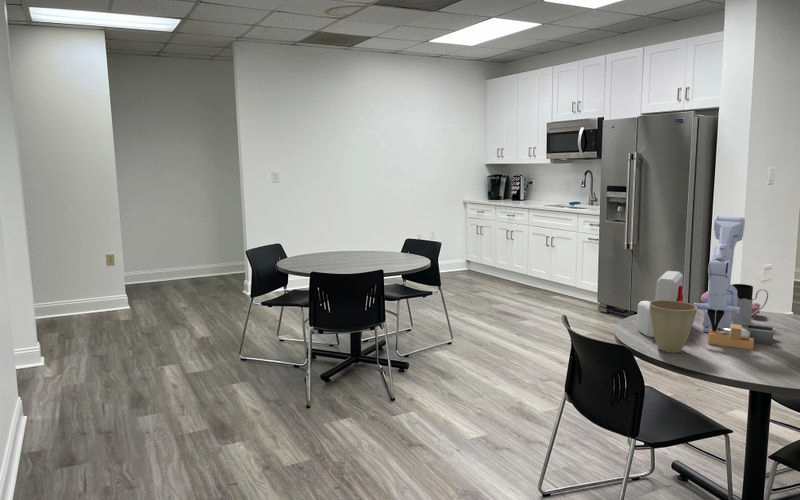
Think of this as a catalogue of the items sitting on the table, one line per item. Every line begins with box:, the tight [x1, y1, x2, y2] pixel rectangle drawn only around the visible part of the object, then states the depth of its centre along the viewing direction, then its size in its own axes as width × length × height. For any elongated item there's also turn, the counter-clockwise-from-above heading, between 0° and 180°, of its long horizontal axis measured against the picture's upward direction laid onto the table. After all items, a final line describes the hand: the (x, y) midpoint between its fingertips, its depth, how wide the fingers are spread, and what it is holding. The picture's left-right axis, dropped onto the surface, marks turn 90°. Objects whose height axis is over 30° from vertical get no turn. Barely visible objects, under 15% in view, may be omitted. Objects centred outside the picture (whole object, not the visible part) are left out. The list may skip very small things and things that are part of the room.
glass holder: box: [731, 283, 769, 326], centre depth 242 cm, size 9×14×15 cm, turn 82°
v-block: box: [746, 323, 774, 346], centre depth 219 cm, size 8×10×4 cm
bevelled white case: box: [654, 270, 684, 302], centre depth 240 cm, size 21×8×20 cm, turn 148°
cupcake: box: [700, 291, 708, 313], centre depth 256 cm, size 9×9×10 cm
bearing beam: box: [707, 323, 755, 350], centre depth 214 cm, size 14×6×7 cm, turn 60°
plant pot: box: [649, 300, 698, 354], centre depth 208 cm, size 15×15×16 cm
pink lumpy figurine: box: [751, 302, 762, 318], centre depth 252 cm, size 10×5×7 cm, turn 148°
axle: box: [717, 328, 750, 340], centre depth 214 cm, size 10×3×3 cm, turn 60°
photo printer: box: [636, 300, 655, 338], centre depth 228 cm, size 10×4×12 cm, turn 3°
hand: (714, 330), depth 217 cm, fingers closed
